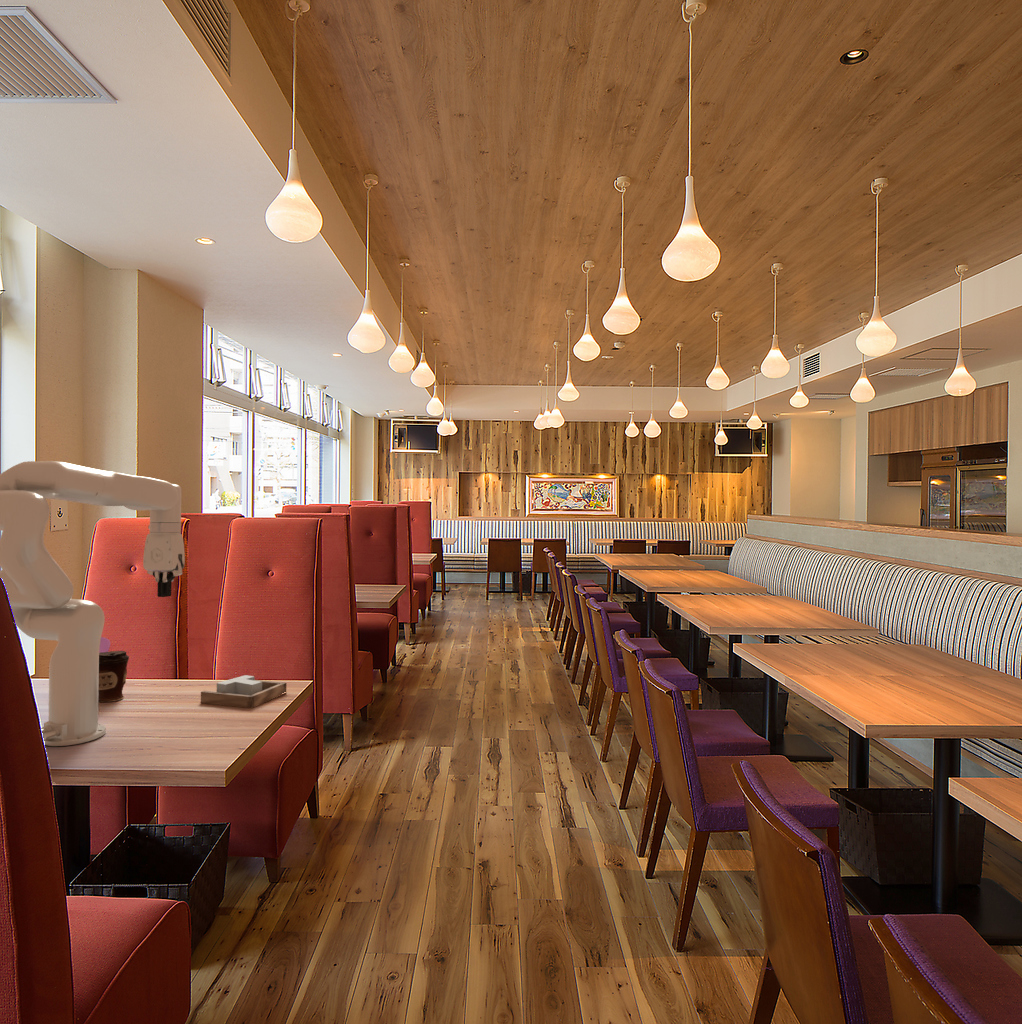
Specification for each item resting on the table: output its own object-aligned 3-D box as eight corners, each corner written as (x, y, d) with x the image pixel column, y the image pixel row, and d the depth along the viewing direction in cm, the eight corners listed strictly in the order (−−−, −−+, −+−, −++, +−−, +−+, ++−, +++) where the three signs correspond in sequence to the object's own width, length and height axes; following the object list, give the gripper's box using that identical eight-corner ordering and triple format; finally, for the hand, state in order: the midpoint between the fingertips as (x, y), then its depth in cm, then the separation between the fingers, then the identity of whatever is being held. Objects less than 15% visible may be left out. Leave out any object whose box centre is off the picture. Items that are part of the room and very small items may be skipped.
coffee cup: (115, 704, 175) (115, 656, 175) (84, 704, 175) (85, 655, 175) (134, 695, 184) (135, 649, 184) (105, 695, 184) (106, 649, 184)
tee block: (242, 706, 175) (242, 687, 175) (216, 701, 179) (216, 683, 179) (271, 696, 184) (271, 679, 184) (245, 692, 188) (245, 675, 188)
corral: (251, 708, 173) (251, 697, 173) (200, 702, 178) (200, 691, 178) (286, 693, 188) (286, 682, 188) (239, 688, 192) (239, 678, 192)
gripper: (132, 528, 176) (131, 596, 176) (177, 529, 172) (176, 599, 171) (154, 528, 183) (153, 593, 183) (198, 529, 179) (197, 596, 179)
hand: (164, 596), depth 177 cm, fingers closed
